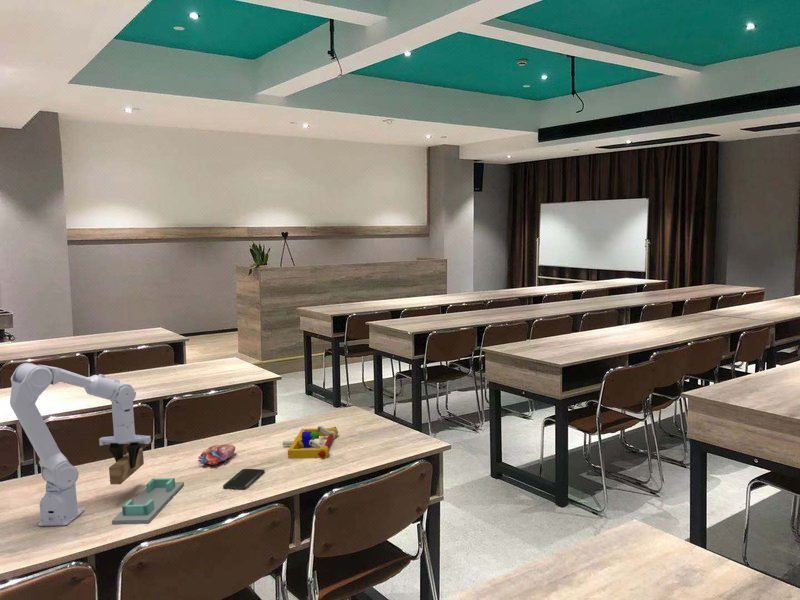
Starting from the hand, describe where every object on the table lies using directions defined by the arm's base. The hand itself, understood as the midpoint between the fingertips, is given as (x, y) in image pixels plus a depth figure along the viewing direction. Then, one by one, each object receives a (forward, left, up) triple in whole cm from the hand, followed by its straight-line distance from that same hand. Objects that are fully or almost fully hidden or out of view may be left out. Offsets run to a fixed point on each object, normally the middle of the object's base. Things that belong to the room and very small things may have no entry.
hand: (127, 467), depth 186 cm
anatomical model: (+27, -18, -9) cm, 34 cm away
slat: (0, 0, -2) cm, 2 cm away
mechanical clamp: (+41, -48, -9) cm, 64 cm away
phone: (+9, -32, -9) cm, 35 cm away
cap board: (-7, -9, -8) cm, 14 cm away
